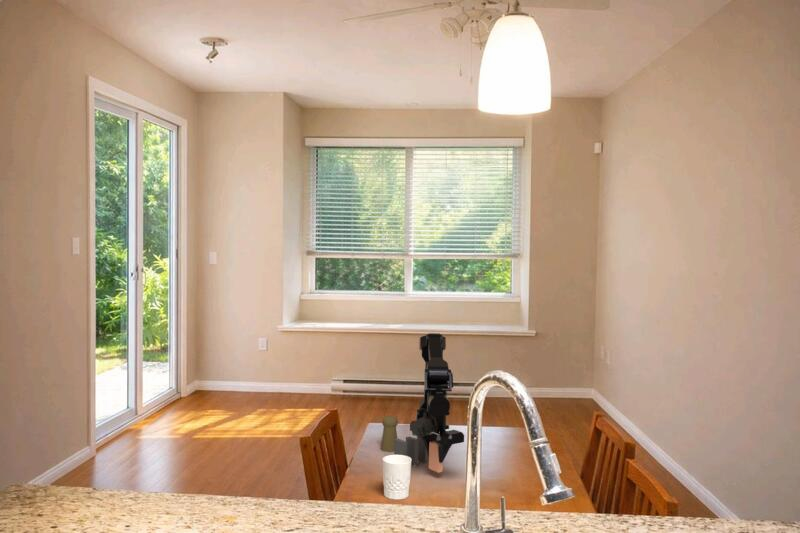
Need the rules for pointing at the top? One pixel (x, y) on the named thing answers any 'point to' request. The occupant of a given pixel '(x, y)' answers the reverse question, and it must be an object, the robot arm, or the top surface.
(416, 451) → the grey rectangular block
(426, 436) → the robot arm
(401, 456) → the white cup
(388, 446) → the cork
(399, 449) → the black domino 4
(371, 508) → the top surface
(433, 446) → the terracotta domino
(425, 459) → the grey domino
